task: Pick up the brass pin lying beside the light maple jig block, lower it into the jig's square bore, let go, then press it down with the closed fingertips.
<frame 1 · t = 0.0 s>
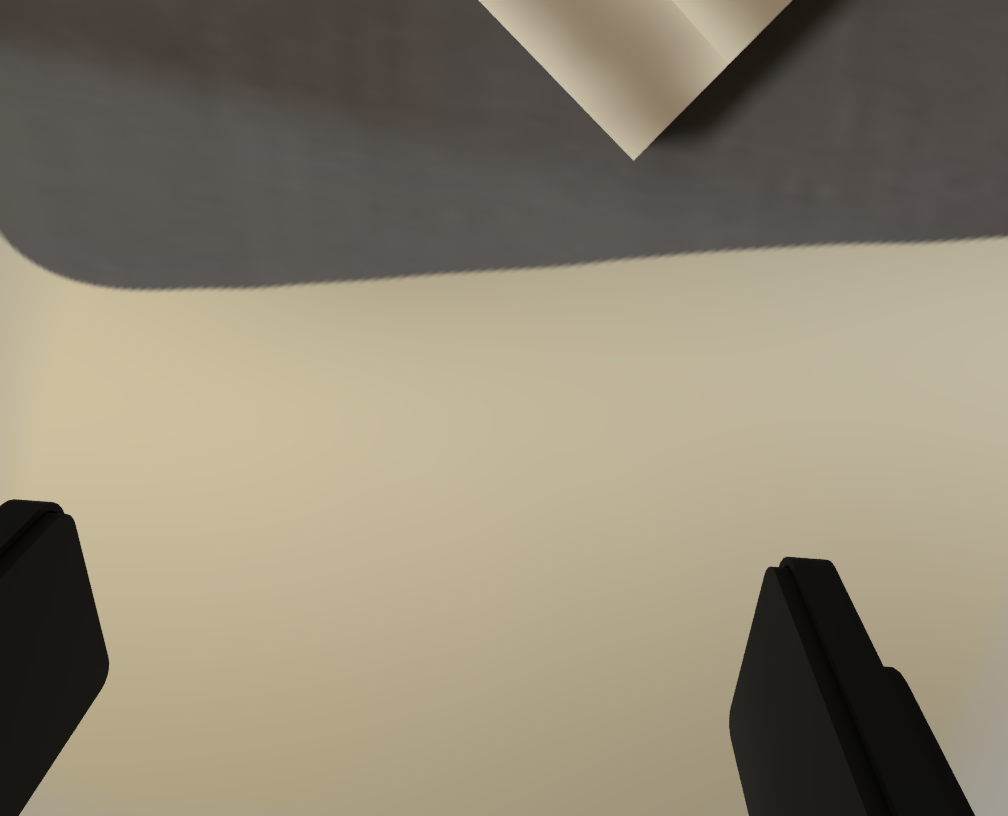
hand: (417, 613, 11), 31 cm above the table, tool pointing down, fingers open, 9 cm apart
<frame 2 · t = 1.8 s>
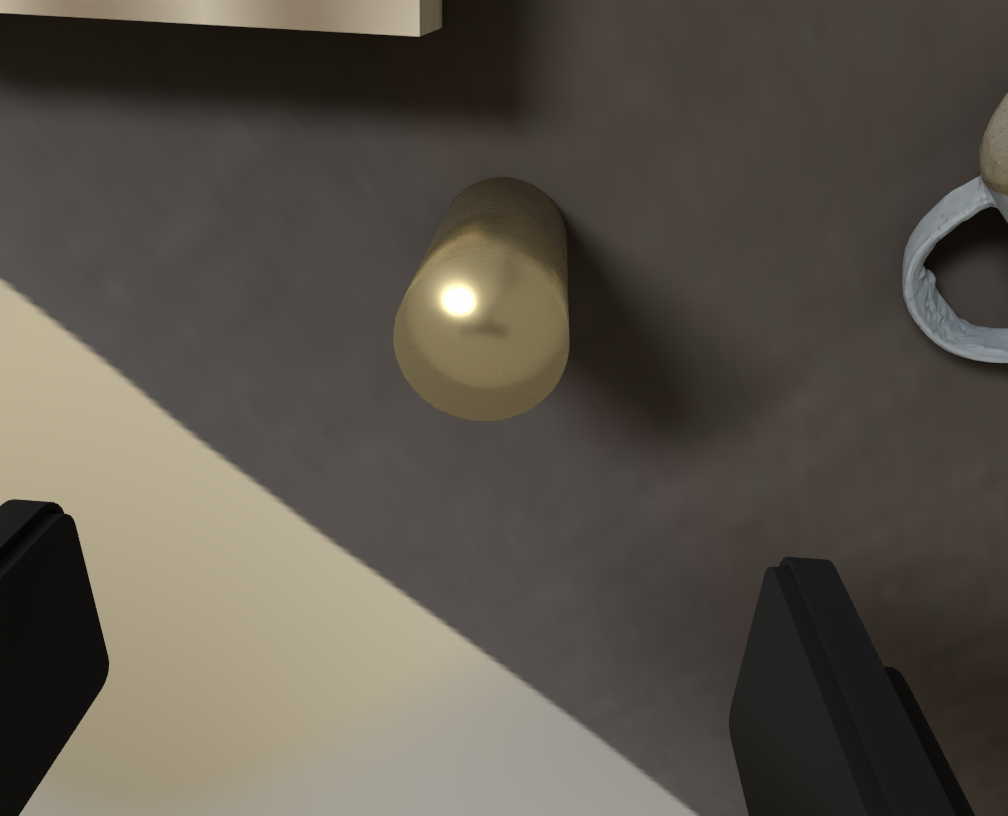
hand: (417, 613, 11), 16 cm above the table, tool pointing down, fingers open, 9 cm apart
brass pin: (503, 241, 25), on the table
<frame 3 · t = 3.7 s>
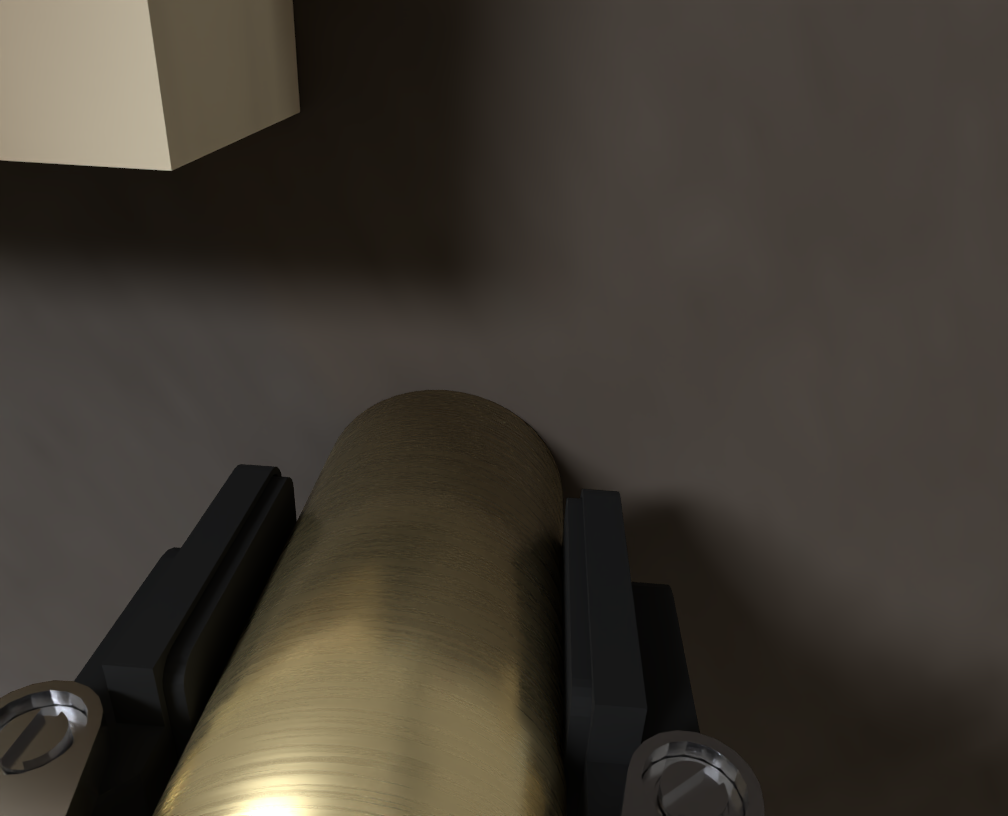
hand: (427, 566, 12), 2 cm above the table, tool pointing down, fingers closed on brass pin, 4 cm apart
brass pin: (443, 496, 13), on the table, touching gripper
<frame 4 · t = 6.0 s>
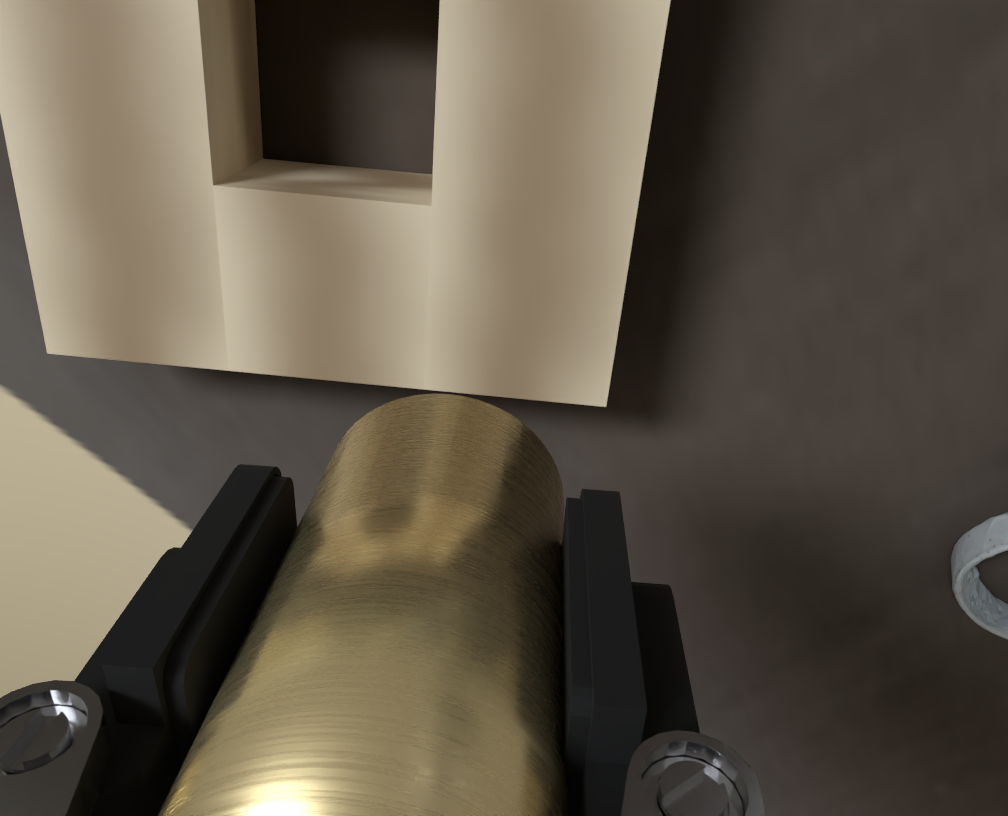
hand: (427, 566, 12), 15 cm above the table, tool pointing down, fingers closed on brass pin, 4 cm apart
maple jig: (355, 66, 22), on the table
brass pin: (444, 499, 13), point 13 cm above the table, touching gripper
when the fingers open (5 cm above the table, at t = 8.3 s): brass pin drops 3 cm, resting in maple jig.
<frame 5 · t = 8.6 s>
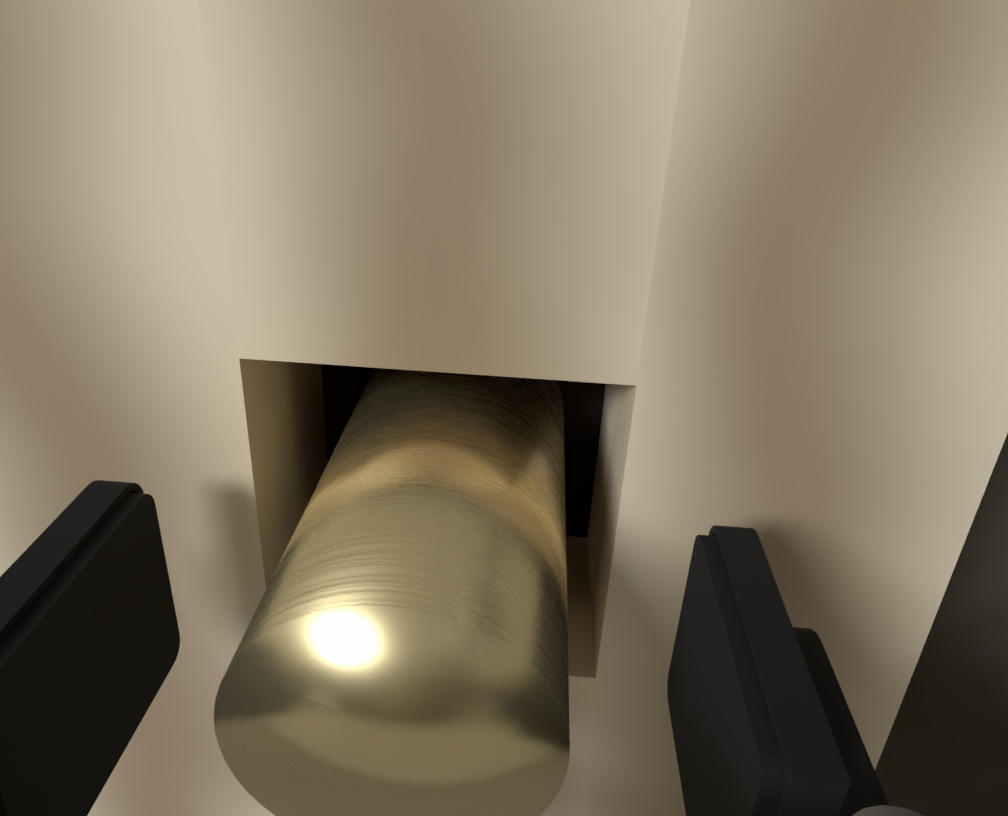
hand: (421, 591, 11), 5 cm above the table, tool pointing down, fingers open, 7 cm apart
maple jig: (461, 414, 16), on the table
brass pin: (464, 413, 16), resting in maple jig
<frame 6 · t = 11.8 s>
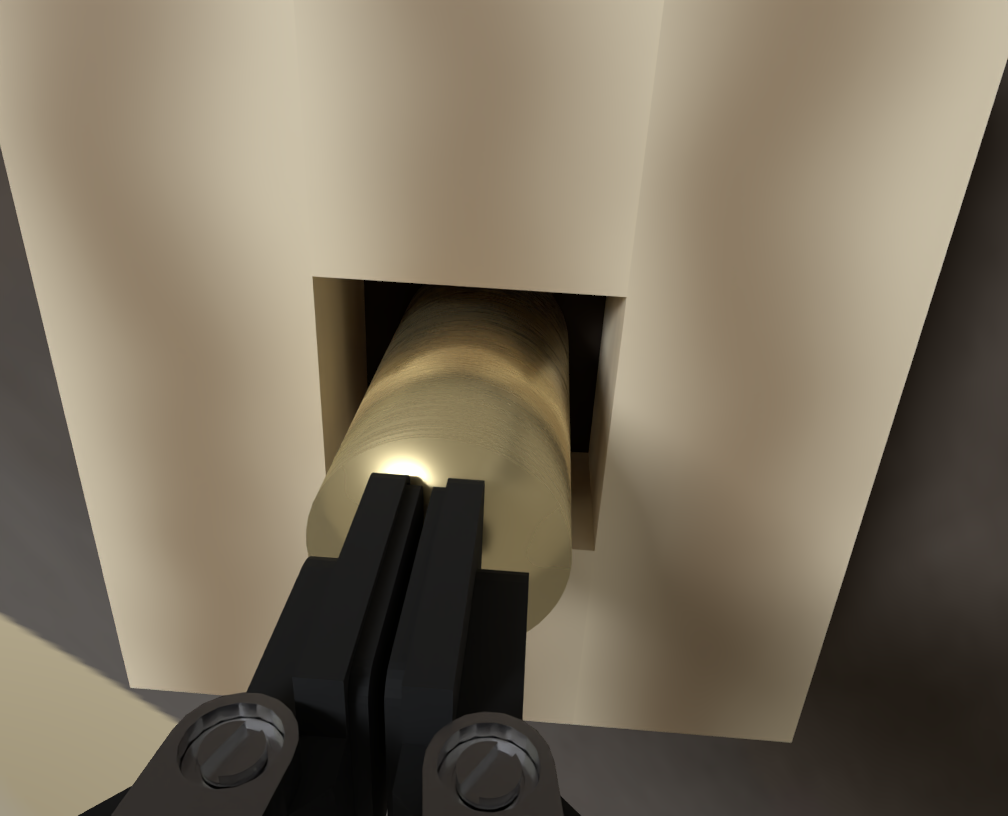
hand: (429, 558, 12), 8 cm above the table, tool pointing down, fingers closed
maple jig: (482, 343, 19), on the table
brass pin: (484, 342, 19), resting in maple jig, touching gripper
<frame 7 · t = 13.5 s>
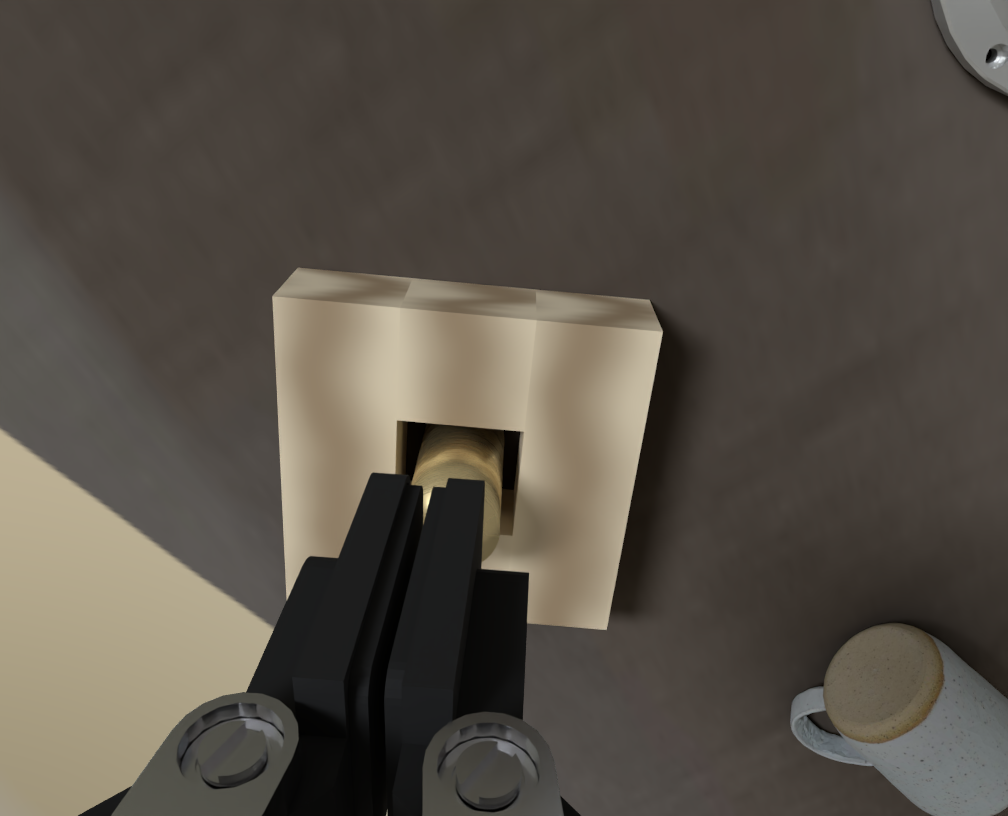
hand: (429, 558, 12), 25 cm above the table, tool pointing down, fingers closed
ceramic mug: (873, 676, 46), on the table
maple jig: (463, 437, 40), on the table
brass pin: (464, 437, 40), resting in maple jig
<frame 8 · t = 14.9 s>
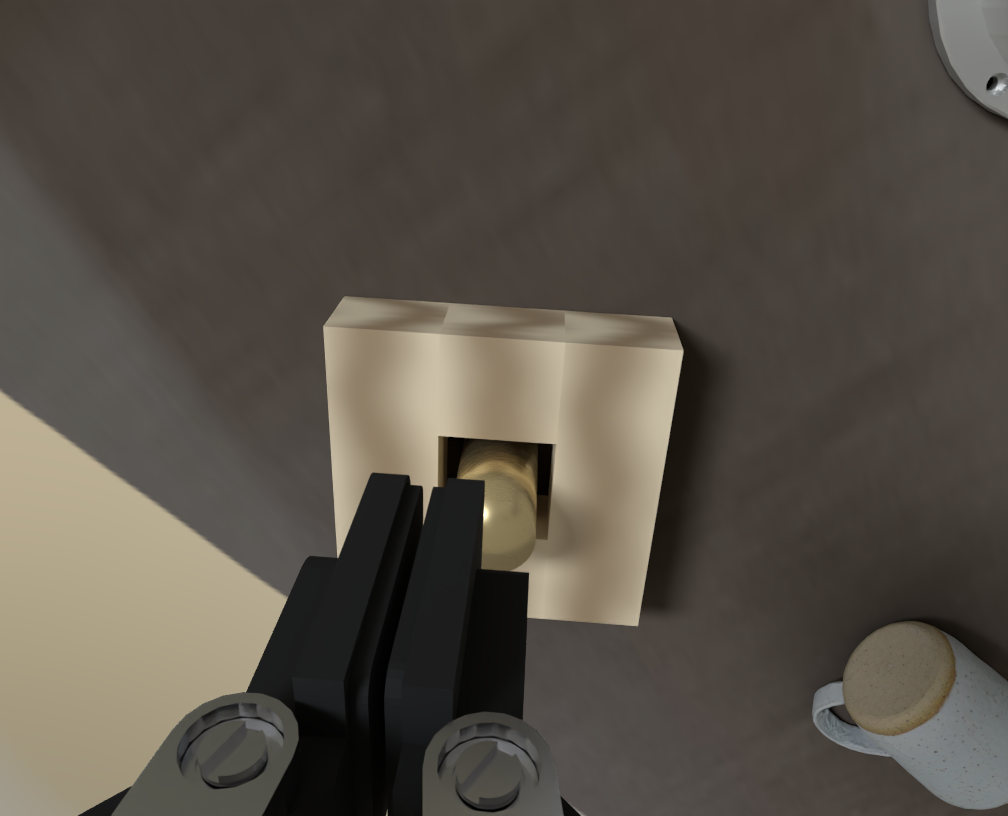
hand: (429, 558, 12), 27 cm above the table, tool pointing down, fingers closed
ceramic mug: (892, 671, 48), on the table
maple jig: (499, 448, 42), on the table
brass pin: (500, 447, 42), resting in maple jig
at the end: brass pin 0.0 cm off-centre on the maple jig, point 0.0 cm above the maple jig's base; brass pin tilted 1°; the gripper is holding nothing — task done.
